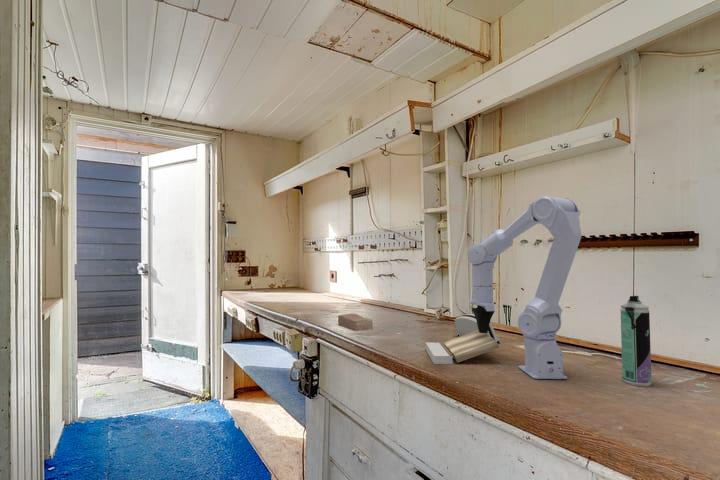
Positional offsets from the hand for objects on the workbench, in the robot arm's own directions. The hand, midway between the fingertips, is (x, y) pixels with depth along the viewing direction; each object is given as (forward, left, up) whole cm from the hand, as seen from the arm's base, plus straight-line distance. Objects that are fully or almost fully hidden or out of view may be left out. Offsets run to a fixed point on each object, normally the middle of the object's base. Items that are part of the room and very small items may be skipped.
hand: (483, 332), depth 112 cm
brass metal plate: (0, +4, -4) cm, 6 cm away
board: (0, +13, -7) cm, 15 cm away
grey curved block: (+23, -4, -7) cm, 24 cm away
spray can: (-22, -29, -7) cm, 37 cm away
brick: (+46, +39, -7) cm, 61 cm away
